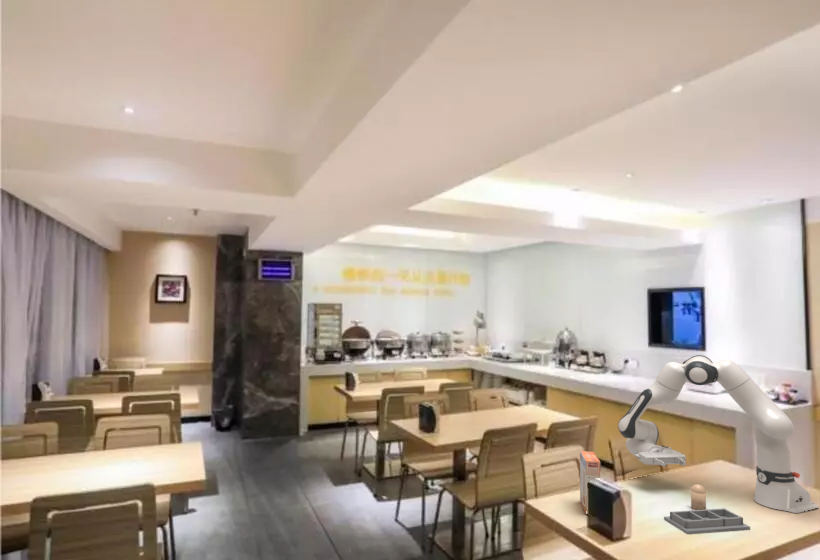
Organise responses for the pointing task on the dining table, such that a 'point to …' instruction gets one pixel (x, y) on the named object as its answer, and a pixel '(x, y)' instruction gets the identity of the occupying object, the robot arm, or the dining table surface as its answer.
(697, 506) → the tan domed cylinder
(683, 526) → the grey compartment tray
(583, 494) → the cracker box
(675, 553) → the dining table surface
